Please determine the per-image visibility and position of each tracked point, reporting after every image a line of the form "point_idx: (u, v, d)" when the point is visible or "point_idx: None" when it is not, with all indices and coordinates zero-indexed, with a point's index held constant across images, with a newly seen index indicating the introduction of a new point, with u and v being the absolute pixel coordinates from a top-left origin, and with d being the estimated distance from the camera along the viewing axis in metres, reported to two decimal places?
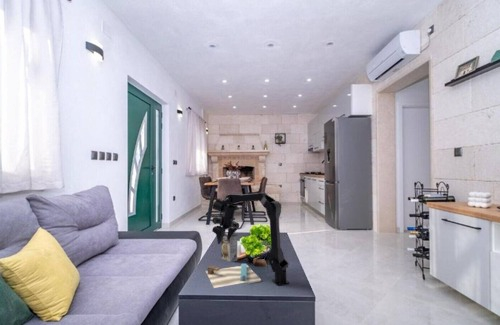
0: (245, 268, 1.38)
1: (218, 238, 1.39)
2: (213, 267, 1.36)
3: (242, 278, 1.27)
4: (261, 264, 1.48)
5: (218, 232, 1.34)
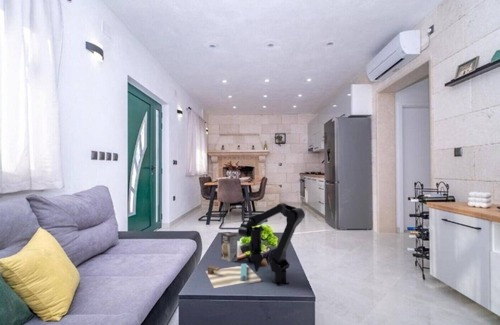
0: (245, 268, 1.38)
1: (256, 265, 1.31)
2: (213, 267, 1.36)
3: (242, 278, 1.27)
4: (262, 264, 1.48)
5: (259, 258, 1.27)
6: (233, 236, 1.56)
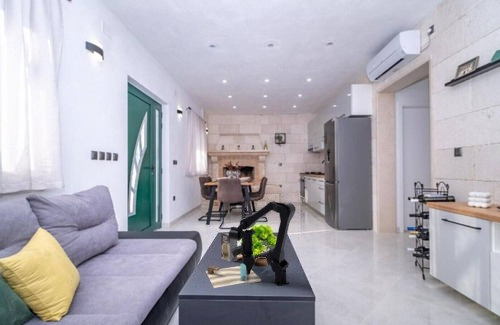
0: (244, 268, 1.38)
1: (248, 268, 1.31)
2: (213, 267, 1.36)
3: (242, 278, 1.27)
4: (261, 264, 1.48)
5: (251, 261, 1.28)
6: None
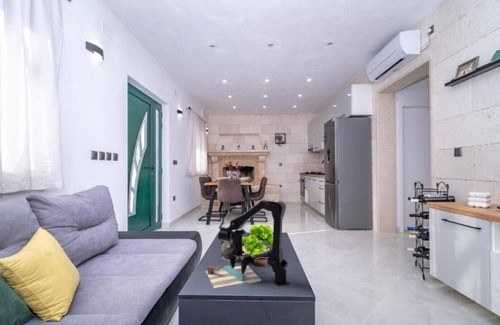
0: (234, 269, 1.37)
1: (243, 267, 1.32)
2: (213, 267, 1.36)
3: (243, 278, 1.27)
4: (261, 264, 1.47)
5: (250, 259, 1.30)
6: None
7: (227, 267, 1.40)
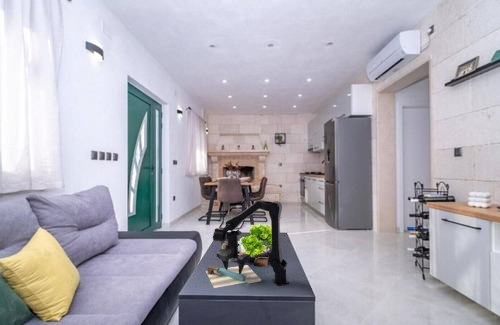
0: (229, 271, 1.35)
1: (241, 268, 1.31)
2: (213, 267, 1.36)
3: (243, 278, 1.27)
4: (261, 264, 1.47)
5: (248, 259, 1.31)
6: None
7: (221, 269, 1.36)
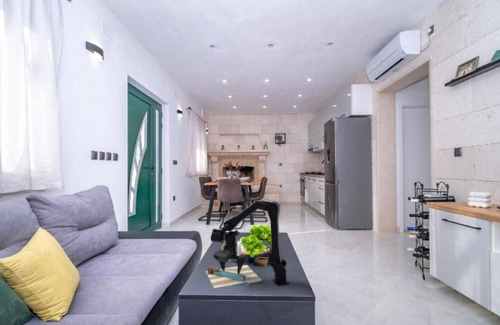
0: (227, 272, 1.33)
1: (240, 268, 1.31)
2: (213, 267, 1.36)
3: (244, 278, 1.27)
4: (261, 264, 1.47)
5: (247, 258, 1.31)
6: None
7: (218, 271, 1.35)
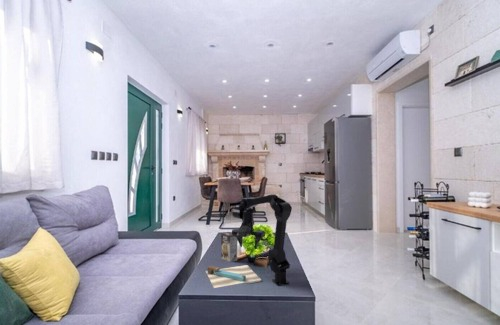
0: (227, 272, 1.33)
1: (257, 243, 1.41)
2: (213, 267, 1.36)
3: (244, 278, 1.27)
4: (260, 264, 1.47)
5: (264, 234, 1.41)
6: (233, 236, 1.56)
7: (218, 271, 1.35)
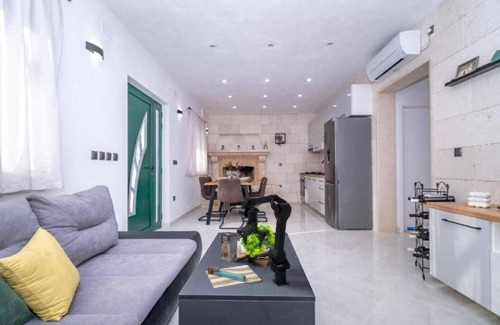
0: (227, 272, 1.33)
1: (261, 242, 1.43)
2: (213, 267, 1.36)
3: (244, 278, 1.27)
4: (260, 264, 1.47)
5: (268, 233, 1.42)
6: (233, 236, 1.56)
7: (218, 271, 1.35)
